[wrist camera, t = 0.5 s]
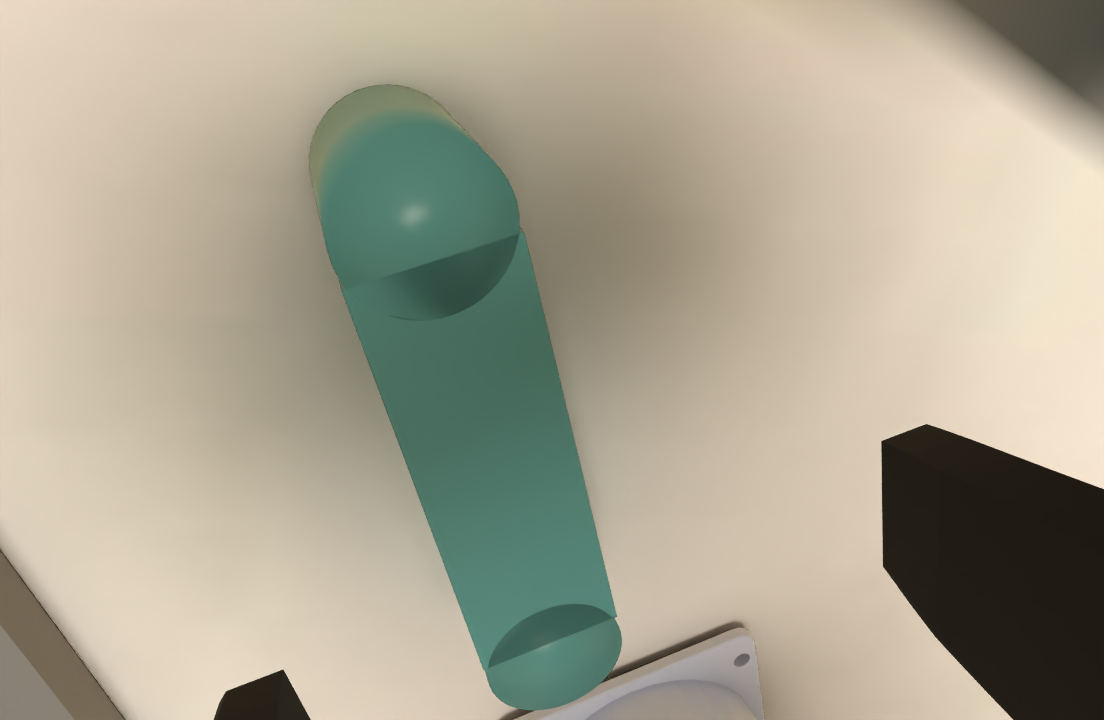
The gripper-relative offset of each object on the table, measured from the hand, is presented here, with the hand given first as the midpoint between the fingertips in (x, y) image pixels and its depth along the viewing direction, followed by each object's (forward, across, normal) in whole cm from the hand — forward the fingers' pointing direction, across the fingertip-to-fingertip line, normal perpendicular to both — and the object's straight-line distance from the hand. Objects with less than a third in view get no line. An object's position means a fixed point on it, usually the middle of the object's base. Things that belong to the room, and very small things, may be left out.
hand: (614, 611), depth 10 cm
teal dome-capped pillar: (+10, 0, +2) cm, 10 cm away
